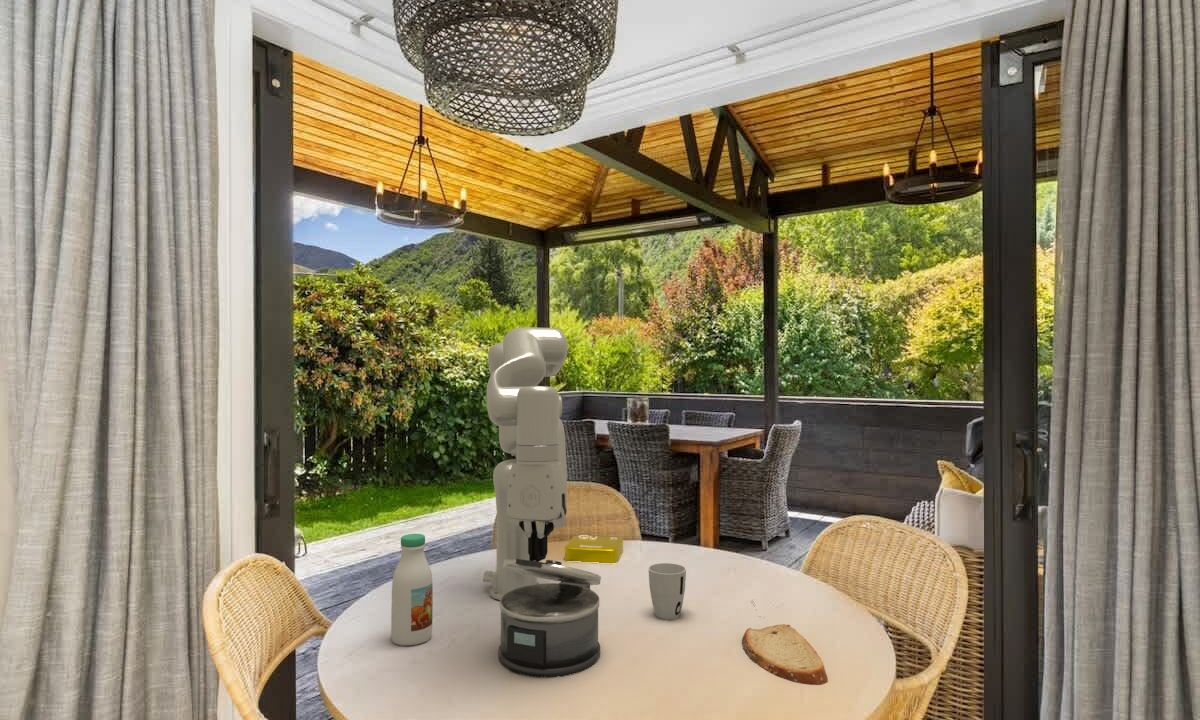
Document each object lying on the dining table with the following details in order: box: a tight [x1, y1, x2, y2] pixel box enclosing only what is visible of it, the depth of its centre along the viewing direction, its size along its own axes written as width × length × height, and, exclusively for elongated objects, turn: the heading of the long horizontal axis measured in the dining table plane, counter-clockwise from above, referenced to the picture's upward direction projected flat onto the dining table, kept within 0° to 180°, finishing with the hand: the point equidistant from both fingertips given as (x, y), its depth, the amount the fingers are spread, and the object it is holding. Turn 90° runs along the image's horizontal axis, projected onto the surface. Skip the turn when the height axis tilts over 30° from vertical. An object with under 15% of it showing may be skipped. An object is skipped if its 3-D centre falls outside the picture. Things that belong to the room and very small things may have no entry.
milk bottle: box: [390, 533, 434, 647], centre depth 125 cm, size 8×8×20 cm
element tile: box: [564, 534, 624, 564], centre depth 184 cm, size 15×15×5 cm
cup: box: [648, 562, 687, 620], centre depth 138 cm, size 8×8×10 cm
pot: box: [497, 581, 601, 678], centre depth 119 cm, size 19×22×10 cm
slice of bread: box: [741, 623, 829, 686], centre depth 117 cm, size 18×18×4 cm
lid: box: [503, 559, 602, 586], centre depth 119 cm, size 18×21×3 cm
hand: (537, 559), depth 113 cm, fingers closed
